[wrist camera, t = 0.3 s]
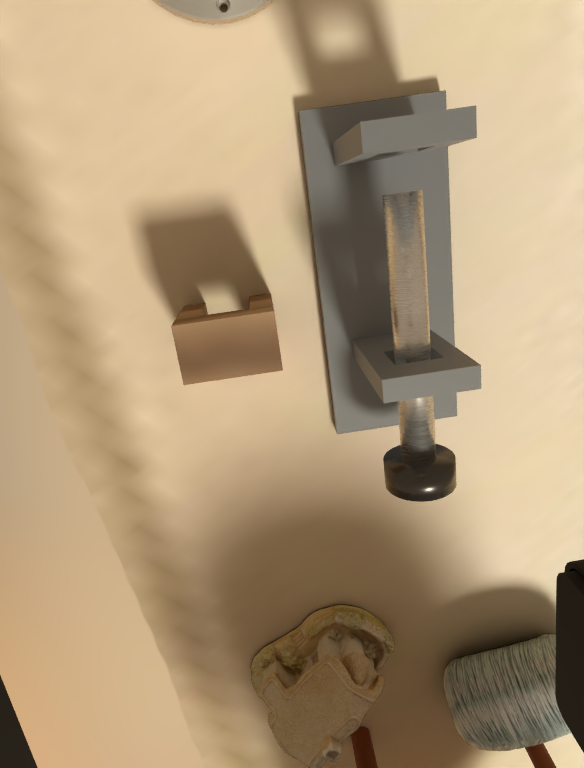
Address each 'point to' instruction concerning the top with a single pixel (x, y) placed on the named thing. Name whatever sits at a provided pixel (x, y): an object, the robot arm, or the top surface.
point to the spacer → (227, 342)
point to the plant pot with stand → (368, 762)
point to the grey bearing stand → (382, 250)
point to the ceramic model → (322, 680)
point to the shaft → (412, 355)
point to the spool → (506, 696)
